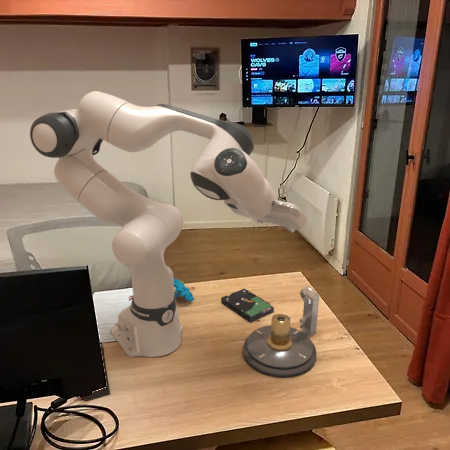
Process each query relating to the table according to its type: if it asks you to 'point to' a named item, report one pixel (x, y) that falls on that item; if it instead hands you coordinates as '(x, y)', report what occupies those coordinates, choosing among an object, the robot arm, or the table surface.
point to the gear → (182, 290)
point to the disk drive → (247, 305)
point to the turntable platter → (276, 359)
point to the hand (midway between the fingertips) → (276, 225)
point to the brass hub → (280, 333)
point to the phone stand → (106, 390)
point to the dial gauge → (309, 310)
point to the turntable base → (277, 372)
